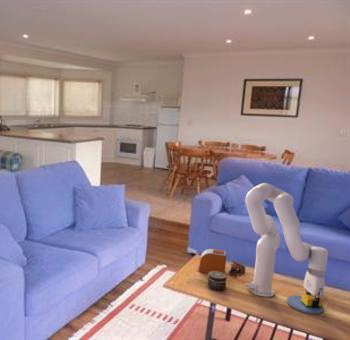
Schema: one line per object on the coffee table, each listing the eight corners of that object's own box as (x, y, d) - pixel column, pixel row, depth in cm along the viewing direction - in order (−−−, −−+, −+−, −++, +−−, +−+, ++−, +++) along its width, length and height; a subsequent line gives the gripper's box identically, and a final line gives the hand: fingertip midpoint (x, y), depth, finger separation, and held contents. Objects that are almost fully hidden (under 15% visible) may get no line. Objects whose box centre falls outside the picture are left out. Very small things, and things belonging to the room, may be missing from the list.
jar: (208, 281, 215) (209, 269, 213) (226, 285, 211) (228, 273, 209) (205, 288, 206) (207, 276, 205) (224, 293, 202) (226, 280, 200)
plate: (298, 313, 184) (298, 311, 184) (281, 297, 200) (281, 295, 200) (329, 314, 185) (330, 311, 185) (310, 297, 201) (310, 295, 201)
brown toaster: (224, 270, 231) (226, 249, 228) (224, 276, 223) (226, 254, 220) (200, 266, 236) (202, 245, 233) (198, 271, 228) (200, 250, 226)
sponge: (306, 307, 188) (307, 299, 187) (300, 302, 193) (302, 294, 192) (321, 307, 188) (323, 299, 188) (315, 302, 193) (317, 294, 192)
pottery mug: (224, 272, 229) (229, 260, 230) (236, 278, 230) (241, 266, 232) (235, 276, 217) (240, 263, 218) (248, 283, 219) (253, 269, 220)
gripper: (299, 264, 196) (295, 296, 199) (319, 279, 179) (314, 313, 182) (313, 264, 196) (308, 296, 199) (334, 279, 179) (329, 313, 182)
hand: (311, 304), depth 191 cm, fingers closed on sponge, 5 cm apart
